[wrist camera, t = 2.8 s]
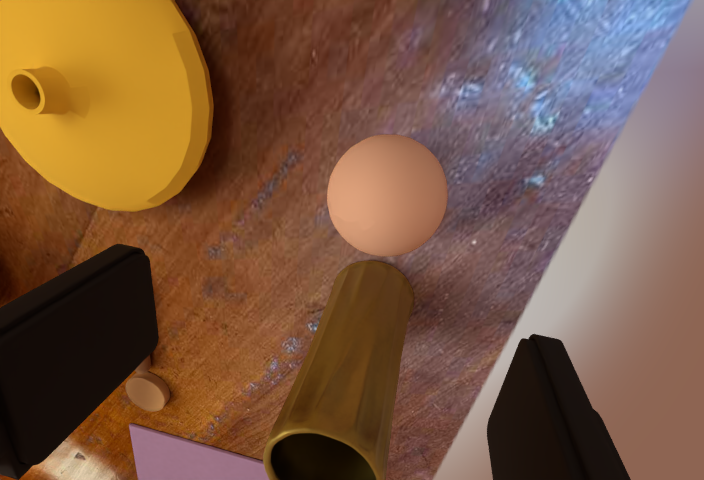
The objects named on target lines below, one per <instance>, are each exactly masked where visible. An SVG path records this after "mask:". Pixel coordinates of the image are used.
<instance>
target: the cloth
mask: <svg viewBox="0 0 704 480" xmlns="http://www.w3.org/2000/svg"><path fill="white" fill-rule="evenodd" d="M129 428H130V434H131V440H132V446H133V452H134V458H135V464H136V470H137V476H138V480H269V478H268V476H267V473H266V471H265V468H264V464H263V461H260V460H257V459H253V458H250V457H246V456H243V455H239V454H236V453H232V452H229V451H225V450H222V449H219V448H215V447H212V446H208V445H205V444H201V443H198V442H194V441H191V440H187V439H184V438H181V437H177V436H174V435H170V434H167V433H163V432H160V431H156V430H153V429H149V428H146V427H143V426H139V425H136V424H132V423H131V424H130V425H129Z"/></svg>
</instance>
